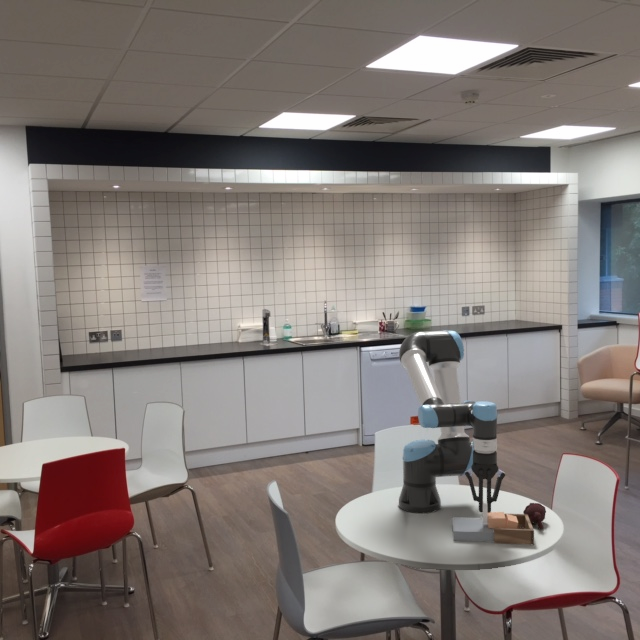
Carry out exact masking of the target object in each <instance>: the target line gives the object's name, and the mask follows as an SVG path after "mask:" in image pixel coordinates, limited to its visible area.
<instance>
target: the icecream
mask: <svg viewBox="0 0 640 640" xmlns="http://www.w3.org/2000/svg"><path fill="white" fill-rule="evenodd" d="M546 513H547V510H546V507H545V506H544V505H542V503H537V502H529V504H528V505H526V506H525V509H523V513H522V514H528V517H529V519H530V522H531V524H535V525H537V527H538V529H539V530H544V523H543V521H544V520H545V519H546Z"/></svg>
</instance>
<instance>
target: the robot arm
mask: <svg viewBox="0 0 640 640" xmlns="http://www.w3.org/2000/svg"><path fill="white" fill-rule="evenodd" d="M464 347H465V346H464V343H463V340H462V337H461V336H460V334H459V333H458V332H457V331H455V330H445V329H444V330H430V331H426V330H425V331H416V332H412V333H410V334H409V335H407V336H406V338H404V340H403V341H402V343H401V345H400V347H399V350H398V357H399V361H400V365H401V366H402V368H404V369H405V370H406V372H407V374H408V376H409V380H410V382H411V384H412V387H413V389H414V391H415V394H416V397H417V399H418V402H419V404H420V406H419V407H418V410H417V418H418V423H419V425H420V426H421V428H424V429H425V428H426V429H436V428H437V429H438V428H440V436H438V439H437V443H436V442H435V441H434V440H432V439H431V440H430V439H419V440H413V441H410V442H408V443H406V444H405V445H404V447H403V451H402V467H403V468H402V470H403V472H402V473H403V475H402V478H403V485H402V488H401V491H400V494H399V497H398V507H399V508H400V509H401V510H404V511H405V512H410V513H414V514H415V513H416V514H425V513H426V514H427V513H433V512H436V511H438V510H439V509H441V507H442V502H441V501H442V500H441V497H440V494H439V491H438V489H437V482H436V481H437V480H436V479H437V478H442V477H458V476H459V477H462V476H466V479H467V480H468V484H469V487H470V490H471V495H472V498H473V501H474V502H477V503H478V511H479V513H481V514H482V515H481V518H482V521H483V523H488V513H490V512H492V504H493V503H494V502H495V503H496V502H497V500H498V497H499V494H500V493H499V492H500V489H501V486H502V482H503V479H504V478H505V477H506V473H505V471H504V470H501V469H499V466H498V452H497V450H498V449H497V448H498V441H497V440H498V429H497V428H498V411H497V410H498V409H497V404H496V403H495V402H491V401H486V400H485V401H484V400H482V401H481V400H480V401H473V400H464V401H463V402H462V401H461V394H460V393H461V392H460V386H459V378H458V377H459V376H458V367H459V366H460V365H461V361H463V359H464V357H465V353H464V352H465V349H464ZM427 363H428V364H427ZM431 370H432V372H433V376H432V373H431ZM469 426H471V427H472V441H471V437H470V435H468V434H467V433H466V432H465V427H469ZM473 473H474V475H475V477H476V478H477V479H478V495H477V493H476V489H475V483H474V480H473ZM495 475H497V477H496V482H495V485H494V489H493V494H492V479H493V478H494V476H495ZM484 480H486V500H484Z"/></svg>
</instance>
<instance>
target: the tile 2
mask: <svg viewBox="0 0 640 640" xmlns="http://www.w3.org/2000/svg"><path fill="white" fill-rule="evenodd" d="M505 514H506V528H507V529H518V528H517V526H518V520H517V517H516V516H513V515H509V514H510V513H505Z"/></svg>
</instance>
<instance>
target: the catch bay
mask: <svg viewBox="0 0 640 640" xmlns="http://www.w3.org/2000/svg"><path fill="white" fill-rule="evenodd" d="M506 514H507V513H505V512H504V515H505V518H506ZM508 514H509V515H513V516H516V517H517V520H518V526H517V529H507V528H493V530H494V542H493V543H494V544H506V545H507V544H511V545H531V544H533V545H535V529H534V528H533V525H532V524H533V523H532V522H530V519H529V517H528V514H524V513H508ZM533 545H532V546H533Z"/></svg>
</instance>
